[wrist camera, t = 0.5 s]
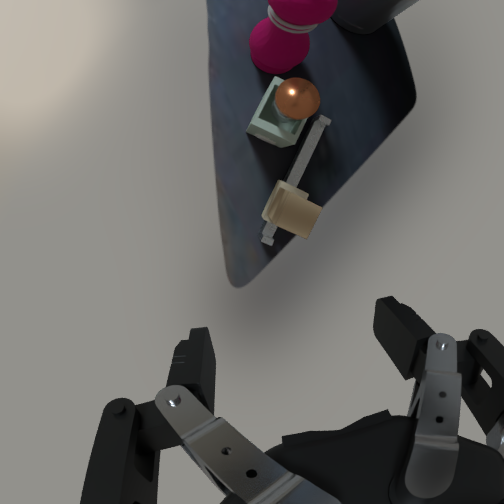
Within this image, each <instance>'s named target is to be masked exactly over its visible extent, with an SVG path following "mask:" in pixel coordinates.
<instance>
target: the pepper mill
mask: <svg viewBox="0 0 504 504" xmlns="http://www.w3.org/2000/svg"><path fill="white" fill-rule="evenodd" d="M268 2H269V7H268V15H269V17H268V18H266V19H264V20H262V21H261V22H259V23H258V24H257V25H256V26H255V28H254V29H253V31H252V33H251V35H250V39H249V45H250V49H251V58H252V61H253V62H254V64H255V65H256V66H257V67H258V68H259V69H261V70H262V71H264V72H267V73H270V74H281V73H285V72H287V71H289V70H290V69H292V68H293V67H294V66H296V65H298V64H299V63H301V62H302V61H303V60H304V58H305V57H306V55H307V53H308V51H309V45H310V41H309V35H308V32H310V31H311V30H313V29H314V28H315V27H316V26H317V25H318V24H319V23H322V22H324V21H326V20H327V19H329V18H330V17H331V16H332V15H333V13H334V12H335V10H336V8H337V3H338V0H268Z"/></svg>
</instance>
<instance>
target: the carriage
mask: <svg viewBox="0 0 504 504" xmlns="http://www.w3.org/2000/svg"><path fill="white" fill-rule="evenodd" d="M308 196H309V194H308V193H306V192H304V191H302V190H300V189H298V188H296V187H294V186H292V185H290V184H288V183H286V182H283V181H281V180H278V181H277V183H276V185H275V187H274V189H273V191H272V194H271V196H270V198H269V200H268V202H267V204H266V206H265V208H264V211H263V213H262V217H263V219H264V220H266V221H268V222H270V223H273V224H275V225H276V226H278V227H281V228H283V229H285V230H287V231H290V232H292V233H294V234H296V235H299V236H301V237H303V238H305V239H307V238H308V236H309V234H310V232H311V230H312V228H313V226H314V224H315V222H316V220H317V218H318V216H319V214H320V212H321V210H322V207H320V206H318V205H316V204H314V203H312V202H310V201H308V200H307V198H308Z"/></svg>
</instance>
